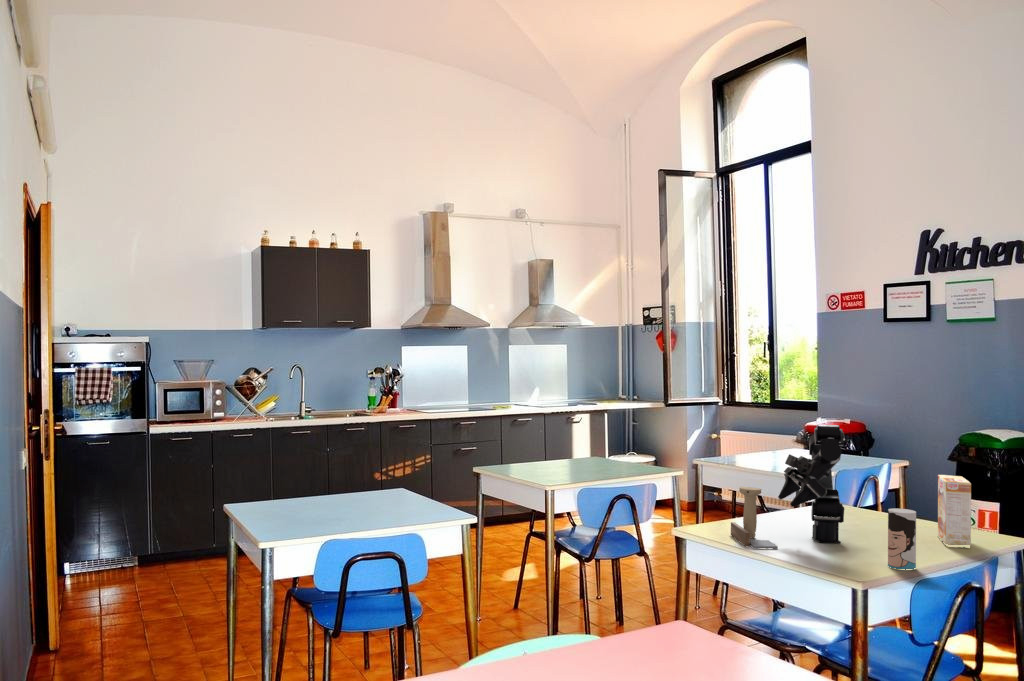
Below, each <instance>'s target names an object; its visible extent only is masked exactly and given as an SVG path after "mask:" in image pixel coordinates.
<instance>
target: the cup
mask: <svg viewBox="0 0 1024 681" xmlns="http://www.w3.org/2000/svg"><path fill="white" fill-rule="evenodd" d="M887 513H888V514H887V567H888V566H889V567H888V568H890V567H891V569H892V568H896V569H905V570H906V569H914V568H916V569H917V567H916V566H917V511H915V510H913V509H907V508H895V507H894V508H888V509H887ZM896 569H895V570H896Z"/></svg>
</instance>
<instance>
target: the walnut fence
mask: <svg viewBox="0 0 1024 681" xmlns="http://www.w3.org/2000/svg"><path fill="white" fill-rule="evenodd" d="M731 535H732V536H733V537H732V536H731ZM730 536H731V537H732V538H734V539H735V538H736V539H737V541H738V542H739V541H740V542H741V543H740V542H739V543H740V544H741V545H743V544H744V545H745V546H744V545H743V546H744V547H746V546H750V540H751V538H750V533H749V532H748V531H747V530H745V529H744V527H743V526H741V525H739V524H738V523H737V522H733V521H731V522H730ZM736 539H735V540H736ZM750 547H751V546H750Z"/></svg>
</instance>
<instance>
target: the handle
mask: <svg viewBox="0 0 1024 681" xmlns="http://www.w3.org/2000/svg"><path fill="white" fill-rule="evenodd" d="M739 493H740V494H742V495H743V496H744V497H743V498H744V502H743V504H744V505H743V517H742V522H743V526H742V527H743V528H744V529H745V530H747V531H748V532H749V533H750V539H755V538H756V534H757V533H756V532H757V524H758V522H757V521H758V519H757V518H758V516H757V497H758V496H759V495H760V494H762V489H761V488H759V487H751V486H741V487H740V486H739ZM754 537H755V538H754Z"/></svg>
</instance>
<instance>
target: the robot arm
mask: <svg viewBox="0 0 1024 681" xmlns="http://www.w3.org/2000/svg"><path fill="white" fill-rule="evenodd" d="M845 444H846V438H845V432H843V429H842V428H841V427H840V425H839V424H817V425H816V427H814V432H813V434H812V435H811V436H810V437H809V446H808V447H809V448H808V450H809V451H808V452H809V454H808V455H809V456H811V458H808V457H804V456H803V455H800V456H799V457H797V456H794V455H793V454H788V456H787V458H786V460H785V463H784V464H785V465H787V467H786V468H785V470H783V473H784V479H785V481H784V484H783V485H782V489H781V490H780V492H779V495H778V496H777V498H778V499H779V500H780V501H781V500H783V499H785V498H787V497H789V496H790V495H792V494H794V493H797V494H796V495H795V496H794V497H793V499H792V500H791V502H790V503H789V505H790V506H791V508H792V507H797V506H799V505H802V504H805V503H807V502H810V501H811V510H810V511H811V513H810V514H811V521H812V522H813V524H812V537H811V539H812V540H814V541H815V542H817V543H819V544H841V543H842V541H840V540H839V534H840V532H839V526H840V524H842V523H844V522H845V521H844V520H845V519H844V518H845V517H844V516H845V507H844V506H843V503H842V502H841V500H840V495H839V491H838V490H837V489H834V488H833V487H834V486H833V485H834V484H833V474H832V469H833V468H834V467H835V466H836V465H837V464H838V463H839V462H840V461H841V458H842V457H841V455H842V447H844V445H845Z"/></svg>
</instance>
